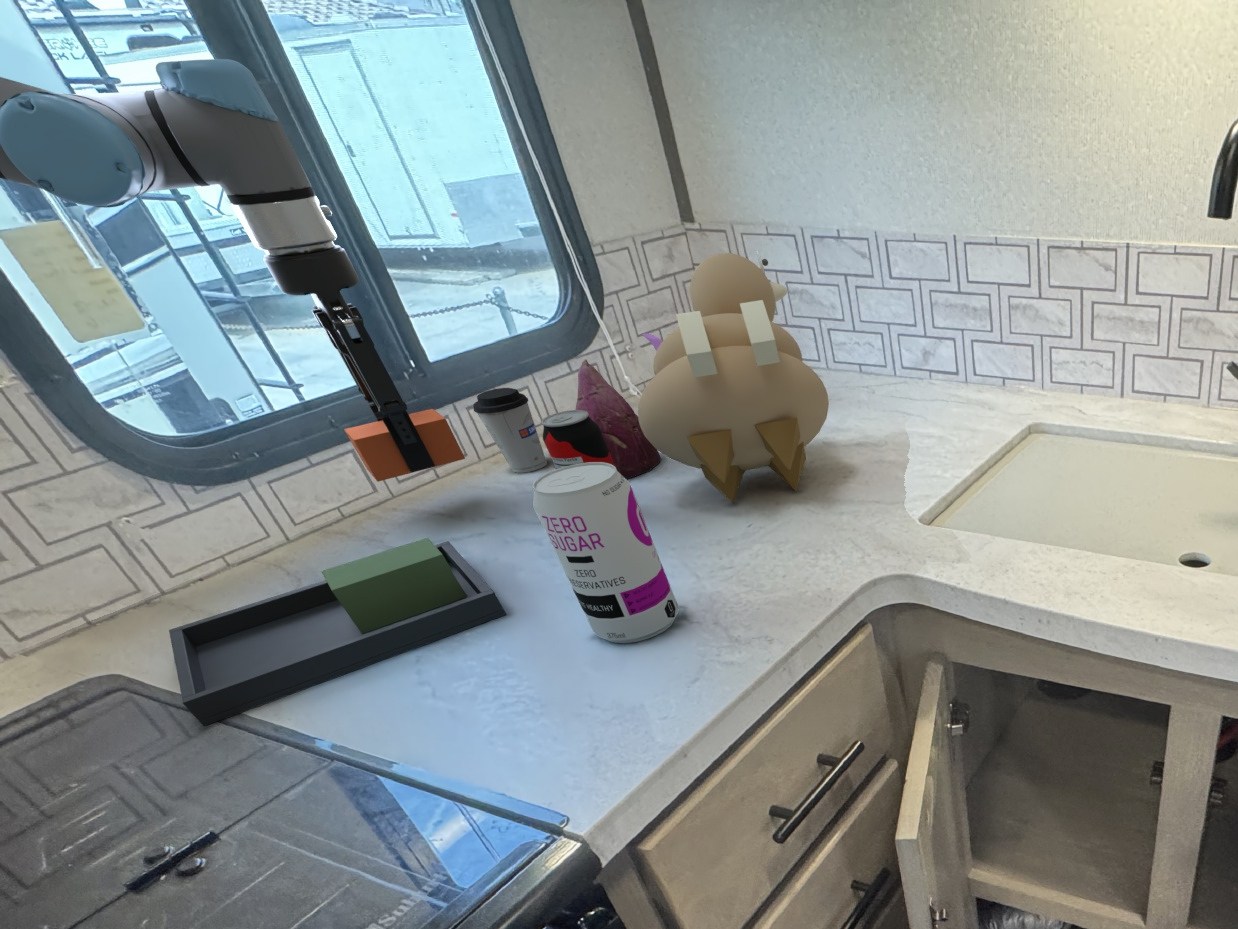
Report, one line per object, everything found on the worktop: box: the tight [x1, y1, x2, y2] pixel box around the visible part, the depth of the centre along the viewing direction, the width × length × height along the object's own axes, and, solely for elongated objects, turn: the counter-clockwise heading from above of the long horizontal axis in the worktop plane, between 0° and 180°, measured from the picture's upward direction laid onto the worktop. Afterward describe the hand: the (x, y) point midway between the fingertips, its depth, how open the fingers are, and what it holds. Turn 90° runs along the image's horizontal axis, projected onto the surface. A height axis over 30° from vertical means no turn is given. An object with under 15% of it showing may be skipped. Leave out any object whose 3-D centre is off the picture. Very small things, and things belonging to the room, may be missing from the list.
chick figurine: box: [637, 250, 830, 504], centre depth 102 cm, size 30×28×23 cm
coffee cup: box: [473, 387, 548, 474], centre depth 116 cm, size 7×7×10 cm
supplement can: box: [532, 462, 680, 644], centre depth 79 cm, size 8×8×15 cm
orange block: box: [343, 408, 466, 483], centre depth 104 cm, size 6×10×5 cm, turn 132°
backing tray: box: [168, 540, 507, 727], centre depth 85 cm, size 18×26×3 cm
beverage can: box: [541, 409, 615, 470], centre depth 101 cm, size 6×6×12 cm
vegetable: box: [574, 359, 662, 480], centre depth 114 cm, size 10×10×15 cm
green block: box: [321, 537, 467, 634], centre depth 87 cm, size 6×10×5 cm, turn 132°
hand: (416, 461), depth 105 cm, fingers closed on orange block, 6 cm apart
